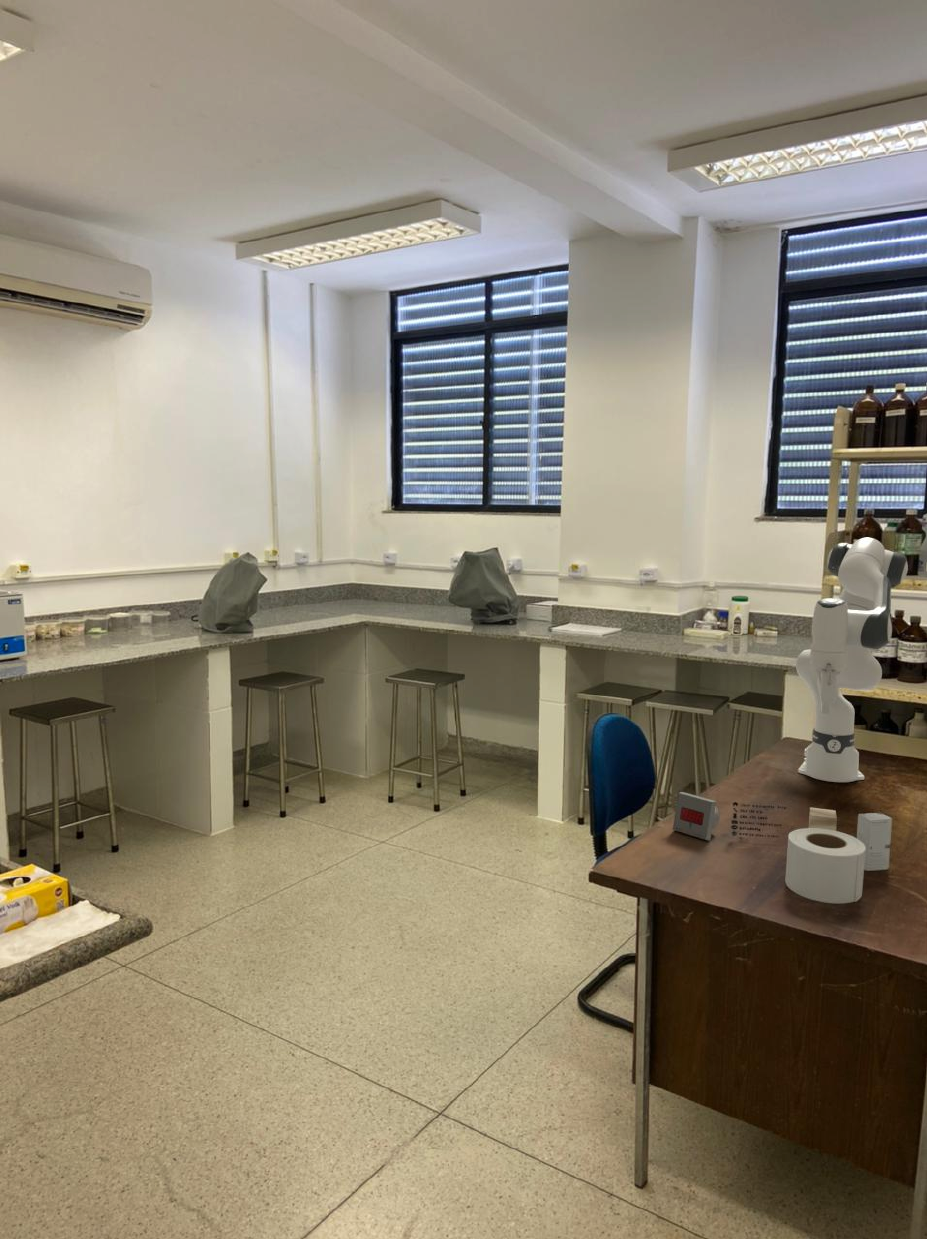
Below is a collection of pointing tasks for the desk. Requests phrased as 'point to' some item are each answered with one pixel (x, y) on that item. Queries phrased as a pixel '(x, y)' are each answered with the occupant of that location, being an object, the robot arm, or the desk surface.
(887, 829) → the skincare box
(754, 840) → the desk surface
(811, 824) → the birch cube
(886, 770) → the desk surface
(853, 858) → the roll of tape
